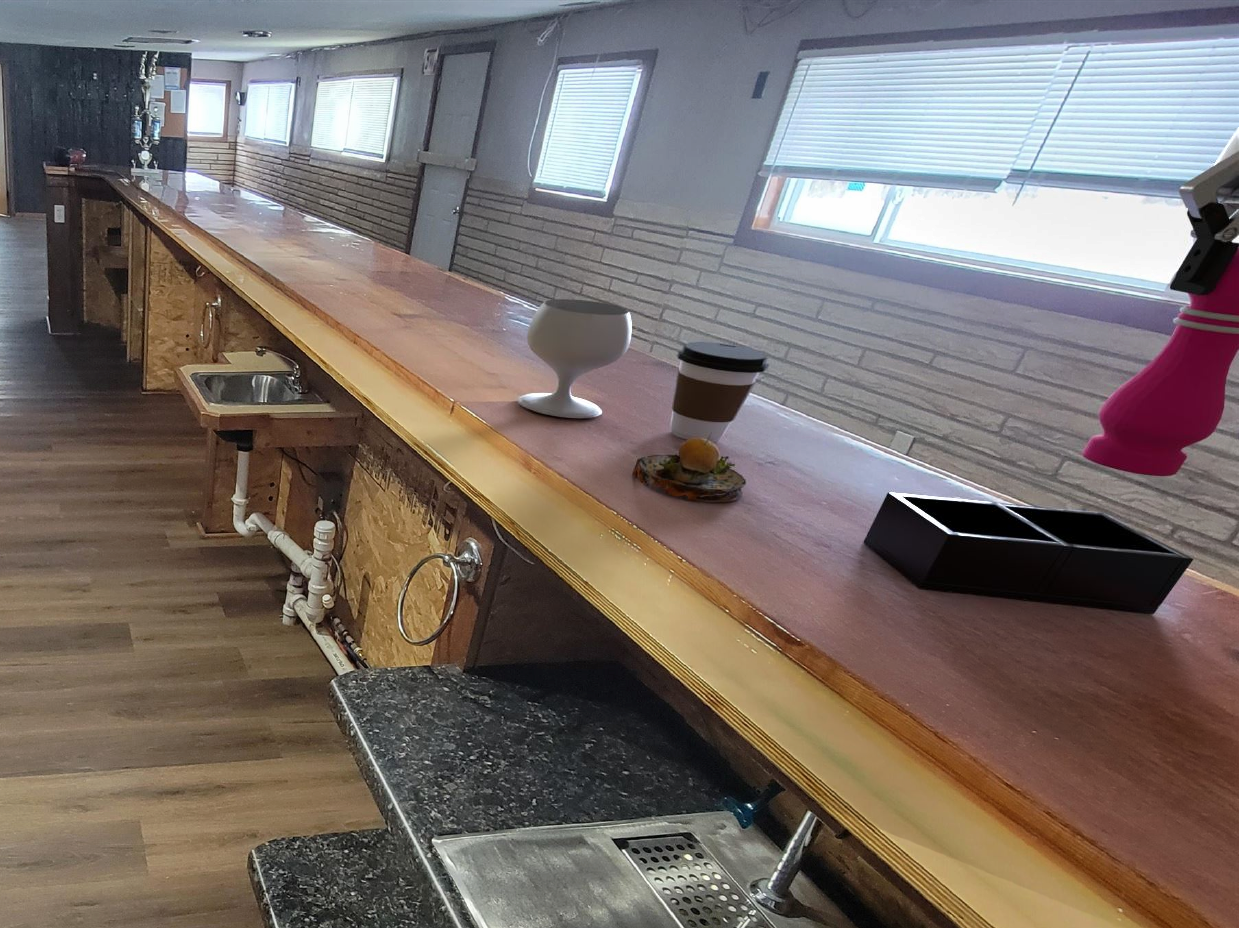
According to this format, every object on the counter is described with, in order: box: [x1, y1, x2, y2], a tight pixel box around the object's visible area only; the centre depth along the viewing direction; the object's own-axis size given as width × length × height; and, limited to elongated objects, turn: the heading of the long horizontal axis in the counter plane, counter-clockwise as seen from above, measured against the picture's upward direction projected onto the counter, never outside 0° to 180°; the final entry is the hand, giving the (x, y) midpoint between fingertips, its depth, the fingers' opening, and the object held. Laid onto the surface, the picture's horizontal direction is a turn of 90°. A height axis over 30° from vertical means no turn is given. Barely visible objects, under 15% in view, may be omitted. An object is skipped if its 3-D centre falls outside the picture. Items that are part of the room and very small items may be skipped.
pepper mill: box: [1081, 249, 1239, 477], centre depth 71 cm, size 7×7×20 cm
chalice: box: [517, 298, 633, 419], centre depth 123 cm, size 14×14×15 cm
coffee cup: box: [670, 341, 770, 443], centre depth 115 cm, size 11×11×12 cm
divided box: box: [863, 491, 1194, 615], centre depth 81 cm, size 20×10×6 cm, turn 80°
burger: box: [632, 432, 747, 503], centre depth 99 cm, size 12×12×8 cm
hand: (1236, 293), depth 68 cm, fingers closed on pepper mill, 6 cm apart
